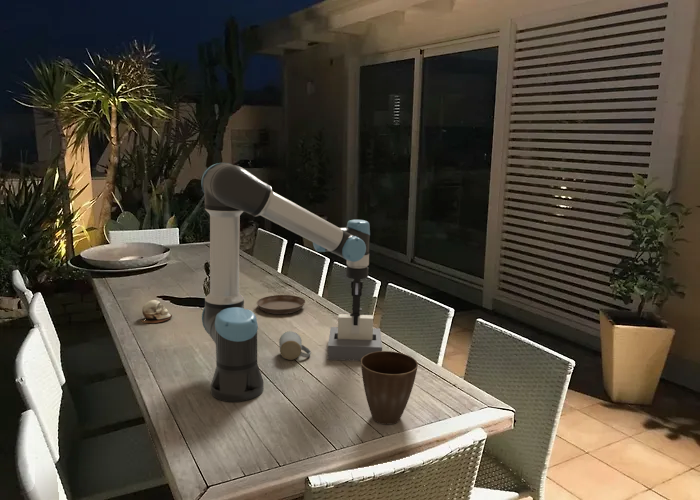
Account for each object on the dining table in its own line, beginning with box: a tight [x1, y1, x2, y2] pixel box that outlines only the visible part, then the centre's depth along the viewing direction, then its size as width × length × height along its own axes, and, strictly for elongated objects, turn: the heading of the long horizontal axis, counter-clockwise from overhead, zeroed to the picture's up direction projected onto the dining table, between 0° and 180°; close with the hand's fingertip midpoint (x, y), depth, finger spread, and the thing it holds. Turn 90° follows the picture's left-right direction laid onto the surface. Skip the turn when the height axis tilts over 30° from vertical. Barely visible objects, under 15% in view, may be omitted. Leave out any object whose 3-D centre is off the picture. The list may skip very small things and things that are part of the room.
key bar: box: [337, 313, 374, 340], centre depth 191 cm, size 12×4×10 cm, turn 89°
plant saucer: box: [256, 294, 306, 315], centre depth 236 cm, size 21×21×3 cm
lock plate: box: [327, 326, 383, 362], centre depth 192 cm, size 18×18×5 cm
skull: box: [141, 299, 173, 324], centre depth 219 cm, size 12×10×10 cm
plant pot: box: [360, 350, 419, 425], centre depth 146 cm, size 15×15×16 cm
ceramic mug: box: [278, 330, 312, 361], centre depth 186 cm, size 11×8×8 cm
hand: (355, 331), depth 191 cm, fingers closed on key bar, 3 cm apart
